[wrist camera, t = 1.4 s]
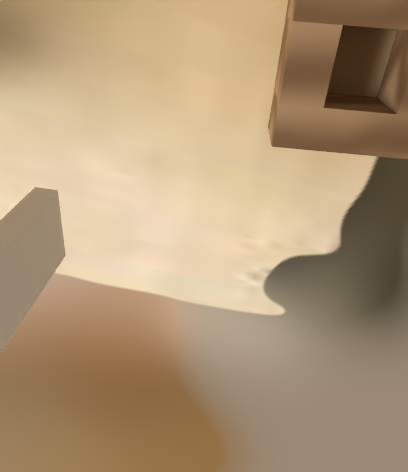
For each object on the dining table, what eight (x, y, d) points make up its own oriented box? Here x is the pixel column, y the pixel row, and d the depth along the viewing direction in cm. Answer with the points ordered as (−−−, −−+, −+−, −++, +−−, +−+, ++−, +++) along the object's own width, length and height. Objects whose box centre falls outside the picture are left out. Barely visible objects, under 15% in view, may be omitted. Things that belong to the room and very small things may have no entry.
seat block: (294, -36, 27) (303, -40, 23) (548, -18, 27) (604, -18, 23) (268, 127, 34) (271, 146, 30) (471, 145, 33) (503, 167, 29)
